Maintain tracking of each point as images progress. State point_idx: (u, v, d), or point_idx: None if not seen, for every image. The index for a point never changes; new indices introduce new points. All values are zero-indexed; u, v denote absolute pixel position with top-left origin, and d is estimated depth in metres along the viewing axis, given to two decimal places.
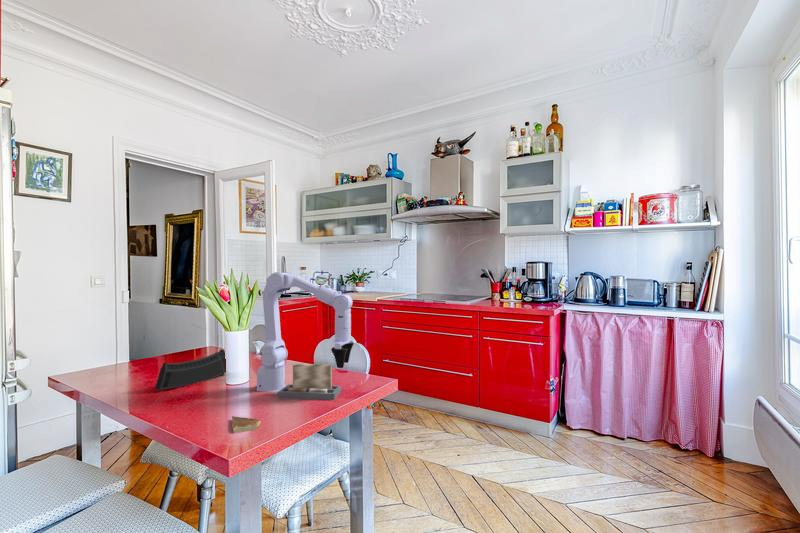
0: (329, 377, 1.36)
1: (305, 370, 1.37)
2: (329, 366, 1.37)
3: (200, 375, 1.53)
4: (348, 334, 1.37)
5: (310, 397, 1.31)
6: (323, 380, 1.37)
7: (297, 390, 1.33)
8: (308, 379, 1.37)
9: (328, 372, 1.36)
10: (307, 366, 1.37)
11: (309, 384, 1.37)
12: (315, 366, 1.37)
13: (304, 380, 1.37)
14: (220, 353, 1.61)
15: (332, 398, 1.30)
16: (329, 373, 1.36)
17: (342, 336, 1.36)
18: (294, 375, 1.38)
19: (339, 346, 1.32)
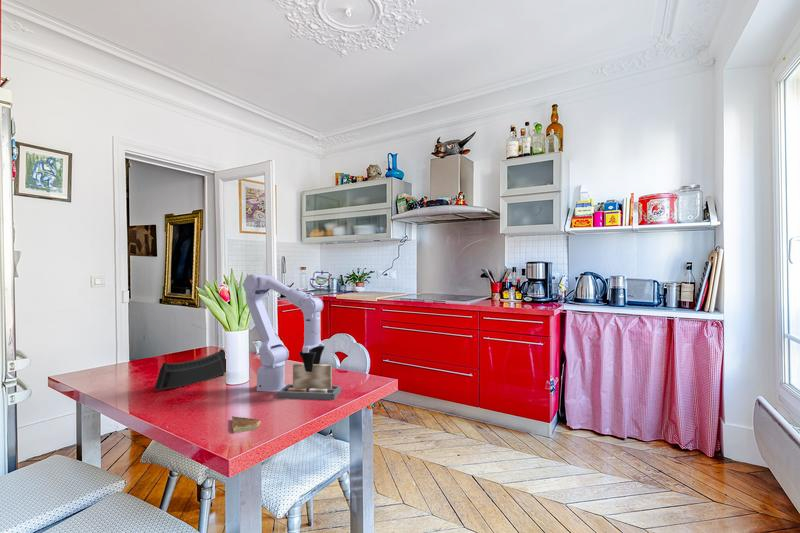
0: (329, 377, 1.36)
1: None
2: (329, 366, 1.37)
3: (199, 375, 1.53)
4: (317, 337, 1.36)
5: (310, 397, 1.31)
6: (323, 380, 1.37)
7: (297, 390, 1.33)
8: (308, 379, 1.37)
9: (328, 372, 1.36)
10: None
11: (309, 384, 1.37)
12: (315, 366, 1.37)
13: (304, 380, 1.37)
14: (220, 353, 1.61)
15: (332, 398, 1.30)
16: (329, 373, 1.36)
17: (311, 339, 1.35)
18: (294, 375, 1.38)
19: (307, 350, 1.31)
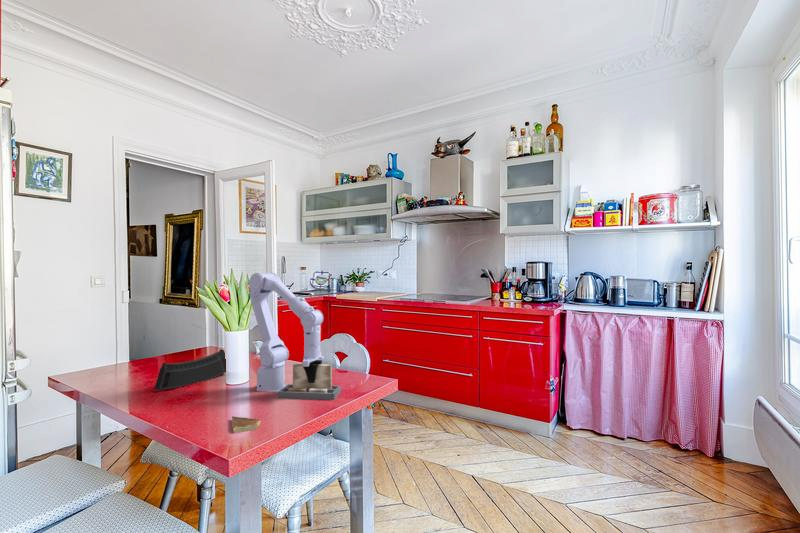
0: (329, 377, 1.36)
1: None
2: (329, 366, 1.37)
3: (199, 375, 1.52)
4: (317, 350, 1.36)
5: (310, 397, 1.31)
6: (323, 380, 1.37)
7: (297, 390, 1.33)
8: None
9: (328, 372, 1.36)
10: None
11: (309, 384, 1.37)
12: None
13: (304, 380, 1.37)
14: (220, 353, 1.61)
15: (332, 398, 1.30)
16: (329, 373, 1.36)
17: (311, 353, 1.35)
18: (294, 375, 1.38)
19: (307, 364, 1.31)
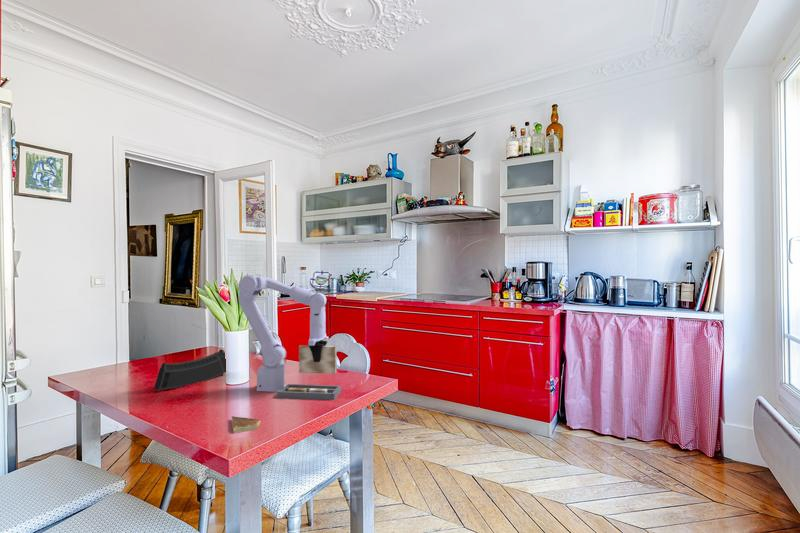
0: (334, 358, 1.42)
1: None
2: (334, 347, 1.43)
3: (199, 375, 1.52)
4: (322, 331, 1.42)
5: (310, 397, 1.31)
6: (328, 361, 1.43)
7: (297, 390, 1.33)
8: (313, 360, 1.43)
9: (333, 353, 1.43)
10: None
11: (315, 364, 1.43)
12: None
13: (310, 361, 1.44)
14: (219, 353, 1.61)
15: (332, 398, 1.30)
16: (334, 354, 1.42)
17: (316, 333, 1.41)
18: (300, 356, 1.44)
19: (312, 343, 1.37)
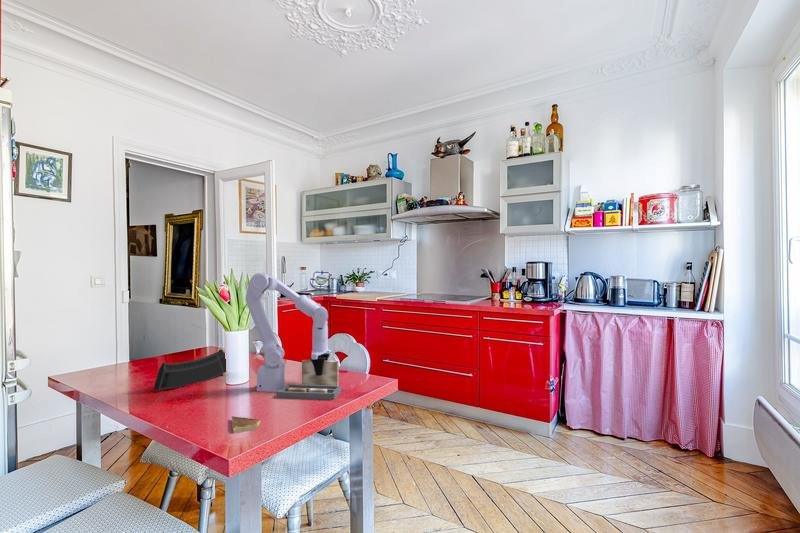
0: (336, 372, 1.45)
1: (313, 366, 1.46)
2: (336, 362, 1.45)
3: (198, 375, 1.52)
4: (324, 344, 1.45)
5: (310, 397, 1.31)
6: (330, 375, 1.46)
7: (297, 390, 1.33)
8: None
9: (335, 368, 1.45)
10: None
11: (317, 379, 1.46)
12: None
13: (313, 375, 1.46)
14: (219, 353, 1.61)
15: (332, 398, 1.30)
16: (336, 369, 1.45)
17: (319, 347, 1.44)
18: (303, 370, 1.47)
19: (315, 356, 1.40)
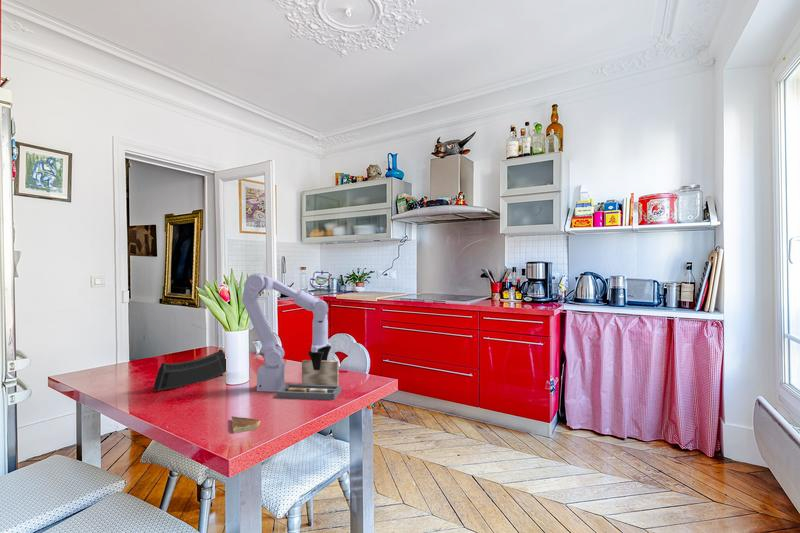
0: (336, 372, 1.45)
1: None
2: (336, 362, 1.45)
3: (198, 375, 1.52)
4: (324, 338, 1.45)
5: (310, 397, 1.31)
6: (330, 375, 1.46)
7: (297, 390, 1.33)
8: (316, 375, 1.46)
9: (335, 368, 1.45)
10: None
11: (317, 379, 1.46)
12: (323, 362, 1.46)
13: (313, 375, 1.46)
14: (218, 353, 1.61)
15: (332, 398, 1.30)
16: (336, 369, 1.45)
17: (319, 340, 1.44)
18: (303, 370, 1.47)
19: (315, 349, 1.40)
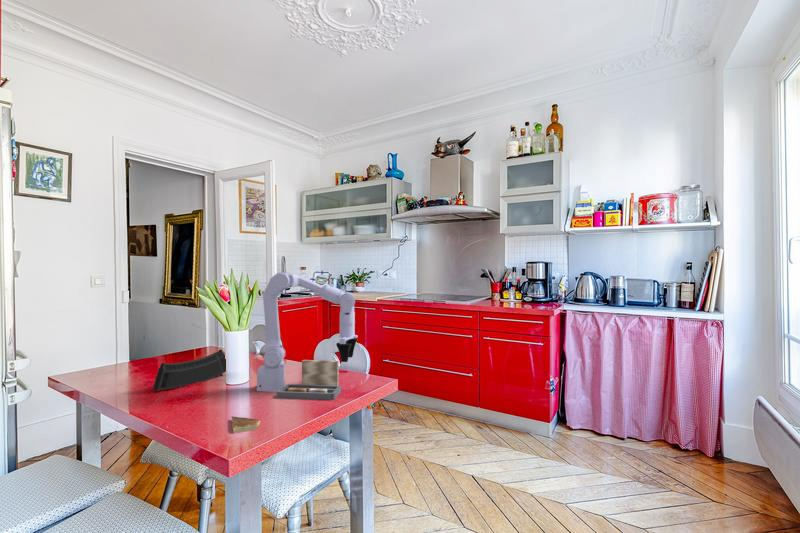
0: (336, 372, 1.45)
1: (313, 366, 1.46)
2: (336, 362, 1.45)
3: (198, 375, 1.52)
4: (351, 330, 1.45)
5: (310, 397, 1.31)
6: (330, 375, 1.46)
7: (297, 390, 1.33)
8: (316, 375, 1.46)
9: (335, 368, 1.45)
10: (315, 362, 1.46)
11: (317, 379, 1.46)
12: (323, 362, 1.46)
13: (313, 375, 1.46)
14: (218, 353, 1.61)
15: (332, 398, 1.30)
16: (336, 369, 1.45)
17: (346, 332, 1.44)
18: (303, 370, 1.47)
19: (343, 341, 1.40)
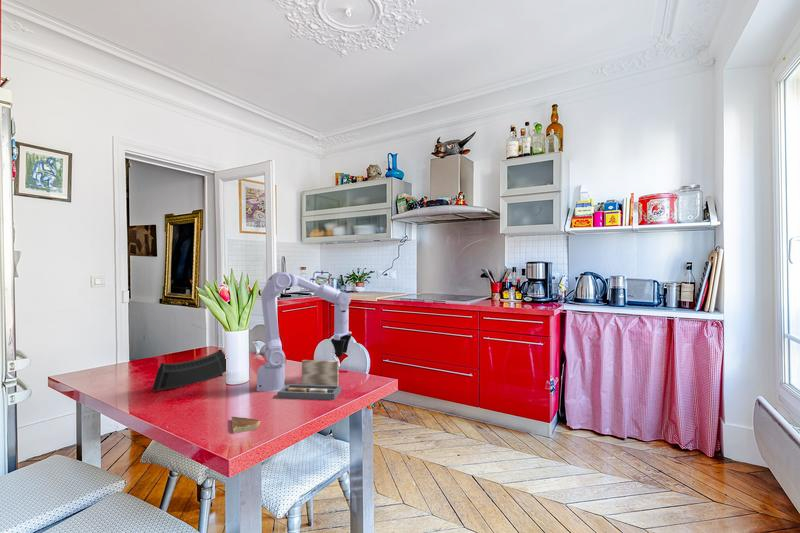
0: (336, 372, 1.45)
1: (313, 366, 1.46)
2: (336, 362, 1.45)
3: (198, 375, 1.52)
4: (345, 326, 1.53)
5: (310, 397, 1.31)
6: (330, 375, 1.46)
7: (297, 390, 1.33)
8: (316, 375, 1.46)
9: (335, 368, 1.45)
10: (315, 362, 1.46)
11: (317, 379, 1.46)
12: (323, 362, 1.46)
13: (313, 375, 1.46)
14: (218, 353, 1.60)
15: (332, 398, 1.30)
16: (336, 369, 1.45)
17: (341, 328, 1.52)
18: (303, 370, 1.47)
19: (338, 337, 1.48)
